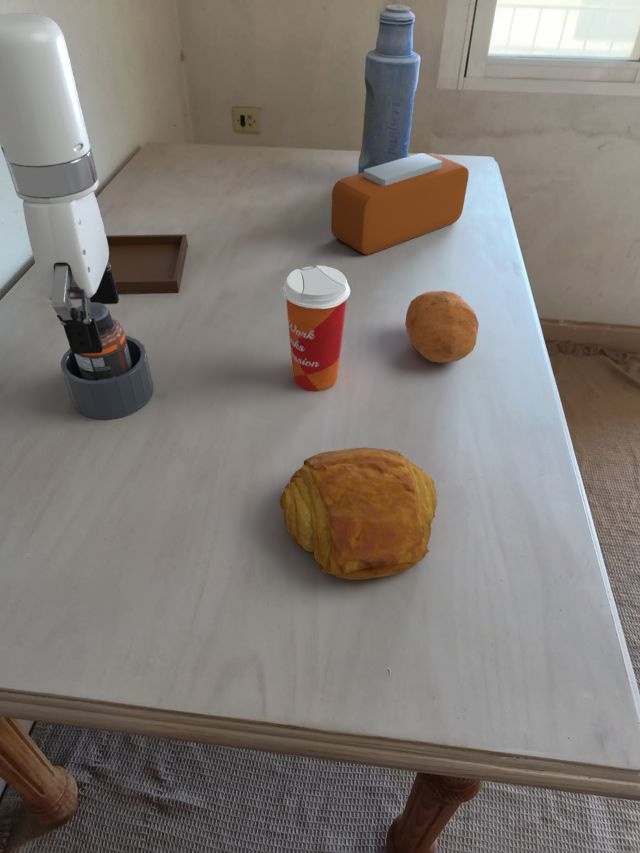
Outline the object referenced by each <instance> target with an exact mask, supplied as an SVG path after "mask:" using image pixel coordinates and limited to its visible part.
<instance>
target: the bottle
mask: <svg viewBox="0 0 640 853" xmlns="http://www.w3.org/2000/svg"><path fill="white" fill-rule="evenodd" d="M415 18H416V15H415V13H413V11H411V7H410V6H408V5H403V4H387V5H386V6H385V9H384V10H381V11H380V14H379V18H378V22H379V27H378V32H377V36H376V37H377V38H376V42H375V49H372V50H369V51H368V52H367V53H366V55H365V64H364V65H365V66H364V85H365V100H364V114H363V128H362V138H361V139H362V140H361V147H360V148H361V149H360V153H359V158H358V163H357V164H358V165H357V166H358V167H357V174H360V173H363V172H364V169H368V168H371V167H375V166H378V165H381V164H385V163H388V162H392V161H395V160H399V159H402V158H406V157H409V147H410V137H411V130H412V123H413V122H412V120H413V111H414V102H415V96H416V92H417V87H418V83H419V75H420V66H421V56H420V54H419V53H417V52H415V51H413V47H414V39H413V38H414V37H413V35H414V34H413V33H414V32H413V31H414V23H415V20H416V19H415Z"/></svg>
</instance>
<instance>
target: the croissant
mask: <svg viewBox="0 0 640 853" xmlns="http://www.w3.org/2000/svg"><path fill="white" fill-rule="evenodd" d="M437 503H438V500H437V490H436V487H435V481H434V479H433V478H432V477H431V476H430V475H429V474H427V473H426V472H424V471H423V469H422V468H420V467H419V466H418V464H415V463H413V462H412V461H410V459H409V458H407V457H405V456H404V455H402V453H401V452H400V451H398V450H392V449H384V448H375V447H366V446H365V447H353V448H345V449H340V450H328V451H323V452H320V453H317V454H315V455H312V456H310V457H308V458H306V459H304V460H303V464H302V466H301V467H300V468H298V469H296V471H295V472H294V473H293V474H292V476H290V480H289V482H287V484H286V485H285V488H284V490H282V492H281V495H280V498H279V505H280V507H281V509H282V512H283V521H284V522H283V523H284V525H285V528H286V530H287V532H288V533H289V535H290V536H291V541H292V543H293V544H295V545H297V544H298V545H299V546H300V547H302V549H303V550H304V551H307V552H310V553H313V558H314V560H315V561H316V564H317V565H318V567H319V568H320V570H321V571H322V572H323V574H329V575H331V576H335V577H337V578H341V579H344V580H350V581H353V580H354V581H355V580H368V579H379V578H384V577H390V576H393V575H396V574H399V573H401V572H402V571H403V572H406V571H407V570H409V569H411V568H413V567H414V566H415V565H416V564H418V562H419V563H420V562H422V561H423V559H425V557H426V556H427V554H428V553H429V552H430V550H429V549H428V545H429V543H430V542H429V541H430V538H431V532H432V531H431V530H432V527H431V525H432V524H433V521H434V519H435V517H436V509H437V505H438V504H437Z"/></svg>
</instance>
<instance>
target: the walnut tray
mask: <svg viewBox="0 0 640 853" xmlns="http://www.w3.org/2000/svg"><path fill="white" fill-rule="evenodd" d="M106 238H107V242H108V248H109V260H110V263H111V269H110V270H107V271H112V272H113V277H114V281H115V285H116V289H117V293H118V295H125V294H128V295H129V294H178V293H179V292H180V288H181V282H182V278H183V273H184V269H185V268H184V267H185V263H186V262H185V261H186V255H187V251H188V246H189V243H188V237H187V233H186V234H183V233H182V234H178V233H177V234H122V235H121V234H117V235H115V234H113V235H110V234H109V235H106ZM70 292H82V289H80V288H79V287H71V291H70Z"/></svg>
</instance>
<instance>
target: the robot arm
mask: <svg viewBox="0 0 640 853" xmlns="http://www.w3.org/2000/svg"><path fill="white" fill-rule="evenodd" d="M88 135H89V134H88V130H87V126H86V122H85V118H84V114H83V110H82V106H81V101H80V96H79V93H78V88H77V84H76V81H75V76H74V72H73V67H72V64H71V58H70V54H69V49H68V47H67V42H66V38H65V36H64V33H63V30H62V29H61V28H60V26H59V24H57V23H56V21H55V20H53V18H51V17H48V16H45V15H43V14H38V13H30V12H29V13H28V12H11V13H10V12H8V13H1V12H0V148H1V151H2V154H3V157H4V160H5V163H6V166H7V169H8V172H9V175H10V179H11V181H12V184H13V188H14V190H15V194H16V196H17V197H18V199H20V200H22V208H23V216H24V221H25V227H26V231H27V236H28V240H29V244H30V249H31V252H32V256H33V260H34V263H35V267H36V270H37V274H38V277H39V281H40V284H41V288H42V291H43V293H44V296H45V297H46V298H47V299H48V300H51V306H52V308H53V311H55V313H56V317H57V319H58V320H59V322H60V324H61V325H62V326H63V329H64V332H65V335H66V339H67V342H68V345H69V349H70V348H71V351H72V352H73V353H74V354H89V353H101V352H102V350H103V345H102V341H101V338H100V334H99V331H98V327H97V324H96V320H95V318H93V319H91V307H90V303H101V304H104V305H116V304H117V305H118V304H119V301H120V298H119V294H118V293H117V289H116V285H115V281H114V277H113V272H112V271H107V270H110V269H111V263H110V260H109V248H108V242H107V238H106V236H107V233H106V229H105V225H104V222H103V218H102V214H101V211H100V207H99V204H98V201H97V198H96V194H95V193H96V192H95V191H96V190H97V189H98V188H99V185H100V183H99V177H98V175H97V169H96V165H95V160H94V156H93V152H92V148H91V144H90V139H89V136H88ZM71 287H79V288H80V289H82V292H70V291H71ZM72 300H75V301H77V300H80V301H81V305H82V311H80V310H79V309H77V308H78V307H73V303H72V302H71V301H72Z"/></svg>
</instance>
